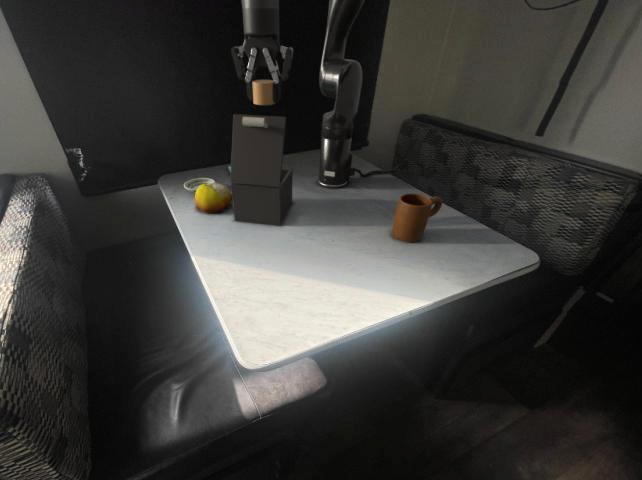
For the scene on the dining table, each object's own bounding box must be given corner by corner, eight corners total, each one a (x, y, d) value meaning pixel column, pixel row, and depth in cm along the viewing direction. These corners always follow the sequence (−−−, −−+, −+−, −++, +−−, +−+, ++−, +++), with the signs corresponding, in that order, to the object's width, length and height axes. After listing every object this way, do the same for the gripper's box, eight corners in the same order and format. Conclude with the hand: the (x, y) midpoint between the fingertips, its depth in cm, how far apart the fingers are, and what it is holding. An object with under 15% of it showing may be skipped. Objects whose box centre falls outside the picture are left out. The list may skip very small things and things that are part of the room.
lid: (234, 115, 79) (226, 108, 74) (286, 117, 77) (281, 111, 72) (231, 183, 83) (223, 181, 78) (280, 187, 81) (275, 185, 76)
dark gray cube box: (251, 198, 100) (248, 165, 94) (292, 202, 98) (292, 169, 92) (234, 220, 89) (230, 184, 83) (280, 225, 87) (279, 189, 81)
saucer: (199, 182, 110) (198, 175, 108) (222, 188, 106) (221, 181, 104) (178, 192, 103) (176, 185, 102) (201, 199, 100) (200, 191, 98)
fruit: (238, 210, 93) (227, 184, 87) (204, 225, 93) (190, 200, 87) (232, 193, 101) (221, 169, 95) (200, 207, 101) (187, 183, 95)
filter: (269, 100, 82) (268, 79, 79) (279, 104, 79) (278, 81, 76) (249, 102, 80) (248, 80, 77) (259, 106, 77) (258, 83, 74)
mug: (423, 223, 88) (433, 188, 82) (443, 236, 83) (455, 200, 77) (384, 231, 85) (392, 195, 79) (403, 245, 80) (413, 208, 74)
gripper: (298, 6, 70) (296, 100, 81) (233, 7, 72) (240, 97, 83) (290, 5, 64) (290, 106, 75) (221, 6, 67) (230, 103, 78)
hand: (264, 101), depth 79 cm, fingers closed on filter, 5 cm apart
